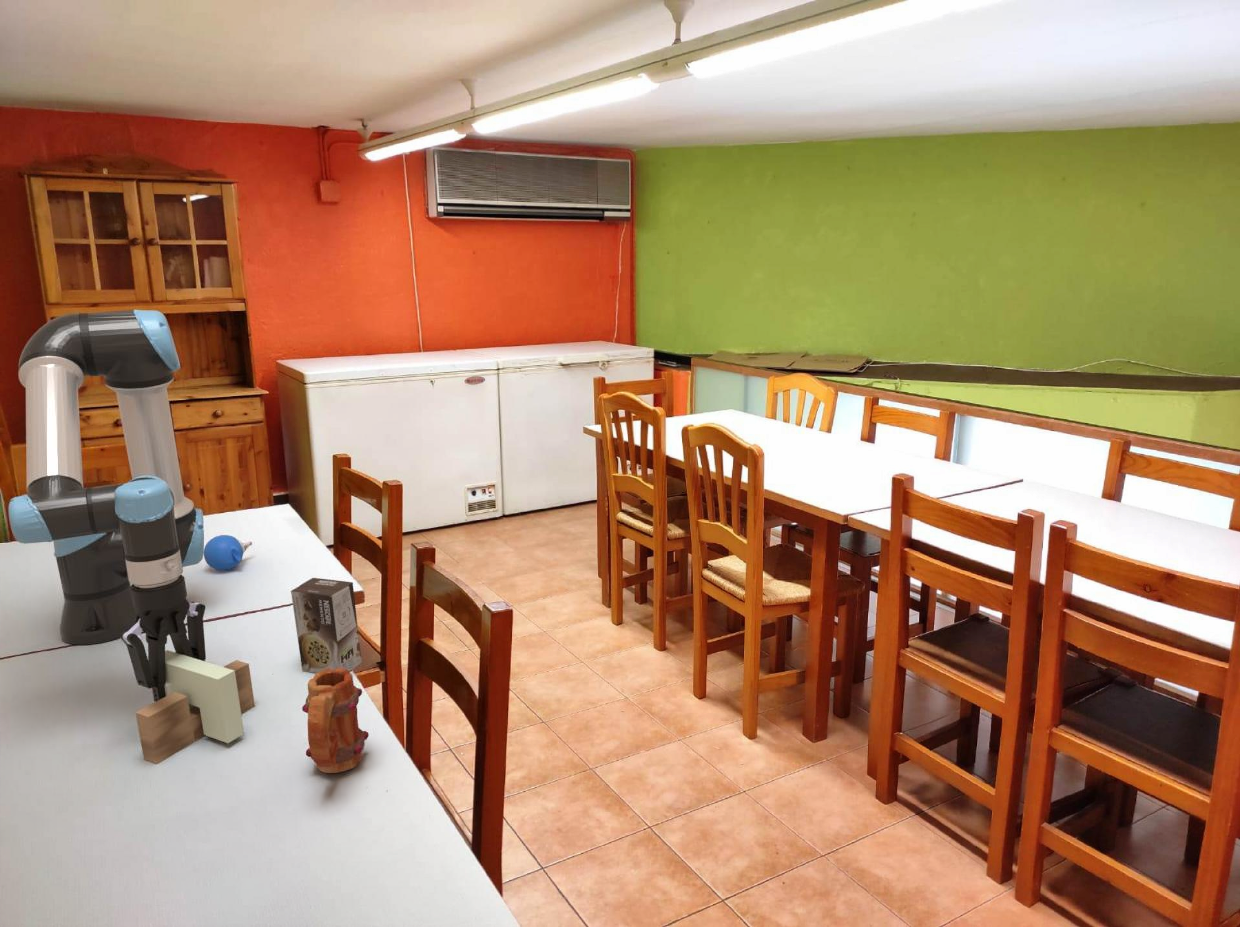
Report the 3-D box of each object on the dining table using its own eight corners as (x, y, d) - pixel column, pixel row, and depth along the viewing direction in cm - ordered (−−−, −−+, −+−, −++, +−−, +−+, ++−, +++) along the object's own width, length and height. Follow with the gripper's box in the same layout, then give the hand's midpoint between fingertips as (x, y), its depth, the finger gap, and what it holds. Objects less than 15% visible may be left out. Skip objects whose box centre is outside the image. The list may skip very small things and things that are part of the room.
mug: (320, 746, 131) (309, 659, 127) (373, 743, 131) (364, 656, 128) (293, 807, 117) (280, 711, 113) (353, 803, 117) (342, 707, 114)
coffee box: (363, 661, 157) (354, 581, 153) (341, 678, 151) (332, 595, 147) (322, 655, 160) (313, 576, 156) (299, 671, 154) (289, 589, 150)
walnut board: (156, 763, 127) (148, 716, 125) (143, 758, 129) (135, 712, 126) (254, 706, 143) (248, 663, 141) (242, 702, 144) (236, 659, 142)
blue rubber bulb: (269, 563, 207) (264, 531, 205) (224, 579, 198) (219, 545, 195) (239, 554, 213) (235, 523, 211) (195, 570, 204) (190, 537, 202)
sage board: (160, 718, 138) (150, 657, 135) (177, 709, 140) (167, 649, 137) (227, 743, 131) (218, 679, 128) (244, 733, 133) (234, 670, 130)
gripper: (122, 602, 123) (148, 744, 129) (218, 565, 137) (237, 694, 143) (91, 594, 126) (117, 732, 132) (187, 558, 140) (207, 685, 146)
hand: (179, 712), depth 137 cm, fingers closed on sage board, 3 cm apart
